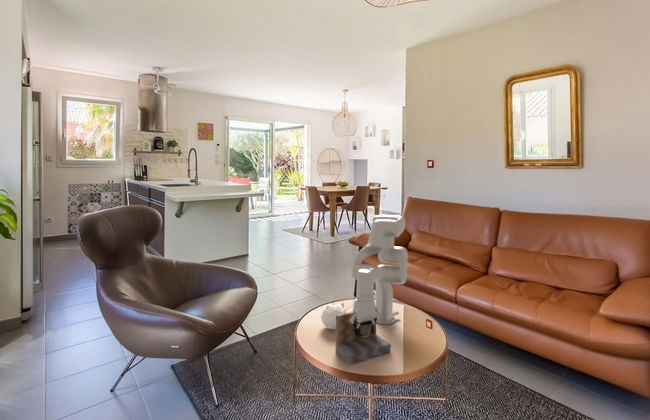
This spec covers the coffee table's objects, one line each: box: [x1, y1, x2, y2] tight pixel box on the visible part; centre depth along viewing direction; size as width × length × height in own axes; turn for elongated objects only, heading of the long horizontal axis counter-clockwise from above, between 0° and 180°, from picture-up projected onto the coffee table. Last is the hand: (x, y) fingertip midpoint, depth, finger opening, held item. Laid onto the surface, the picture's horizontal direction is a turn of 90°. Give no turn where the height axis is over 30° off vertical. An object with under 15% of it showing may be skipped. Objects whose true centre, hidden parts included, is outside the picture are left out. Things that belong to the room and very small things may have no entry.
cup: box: [357, 320, 372, 339], centre depth 165 cm, size 8×7×8 cm
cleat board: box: [334, 307, 391, 366], centre depth 166 cm, size 22×12×18 cm, turn 119°
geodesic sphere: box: [320, 303, 346, 331], centre depth 191 cm, size 14×14×14 cm
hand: (364, 333), depth 166 cm, fingers closed on cup, 7 cm apart
